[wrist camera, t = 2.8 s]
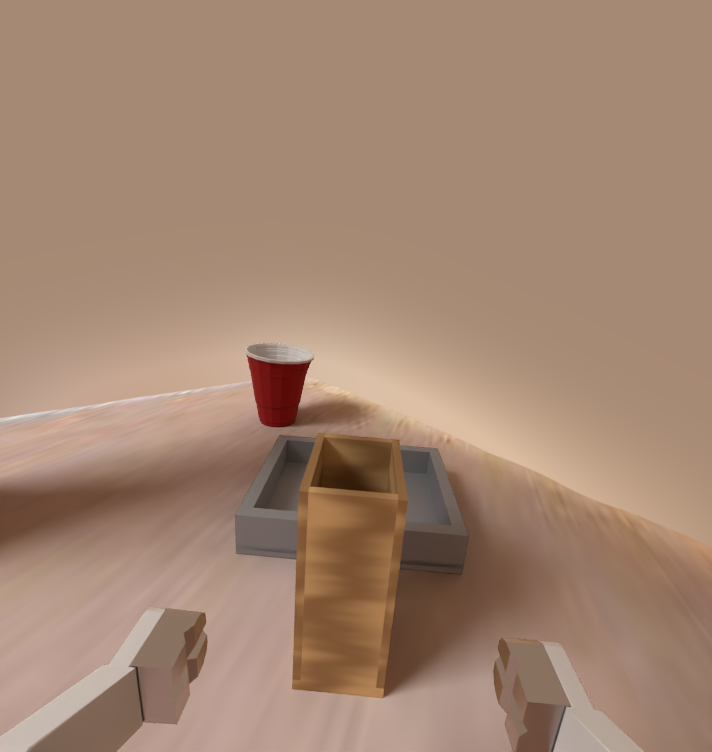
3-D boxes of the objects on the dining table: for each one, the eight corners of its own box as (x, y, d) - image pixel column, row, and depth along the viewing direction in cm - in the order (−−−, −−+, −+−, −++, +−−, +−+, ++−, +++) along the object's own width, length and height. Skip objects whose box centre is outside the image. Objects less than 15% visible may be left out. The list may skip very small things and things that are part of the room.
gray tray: (236, 553, 33) (235, 515, 32) (279, 463, 49) (279, 435, 48) (461, 574, 33) (468, 535, 32) (433, 476, 48) (437, 448, 47)
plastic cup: (303, 437, 56) (306, 360, 53) (233, 430, 57) (232, 353, 54) (318, 411, 67) (321, 345, 63) (258, 405, 68) (258, 339, 64)
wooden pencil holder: (292, 689, 23) (298, 491, 19) (310, 594, 30) (318, 433, 26) (382, 698, 23) (408, 500, 19) (380, 600, 30) (399, 440, 26)
